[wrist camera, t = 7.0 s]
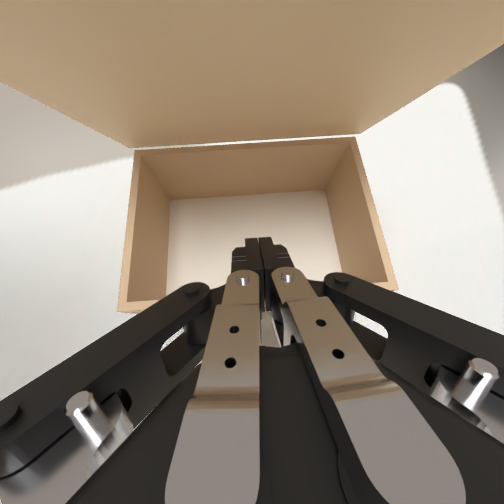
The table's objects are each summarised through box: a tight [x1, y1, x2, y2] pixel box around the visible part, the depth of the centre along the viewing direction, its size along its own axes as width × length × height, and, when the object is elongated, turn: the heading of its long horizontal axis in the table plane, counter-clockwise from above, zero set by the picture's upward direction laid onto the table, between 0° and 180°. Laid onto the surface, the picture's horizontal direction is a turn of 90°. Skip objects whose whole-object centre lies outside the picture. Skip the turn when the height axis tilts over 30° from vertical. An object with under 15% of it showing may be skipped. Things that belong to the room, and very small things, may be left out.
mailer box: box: [117, 137, 399, 314], centre depth 22 cm, size 20×14×8 cm
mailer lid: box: [0, 0, 504, 148], centre depth 13 cm, size 21×14×1 cm
